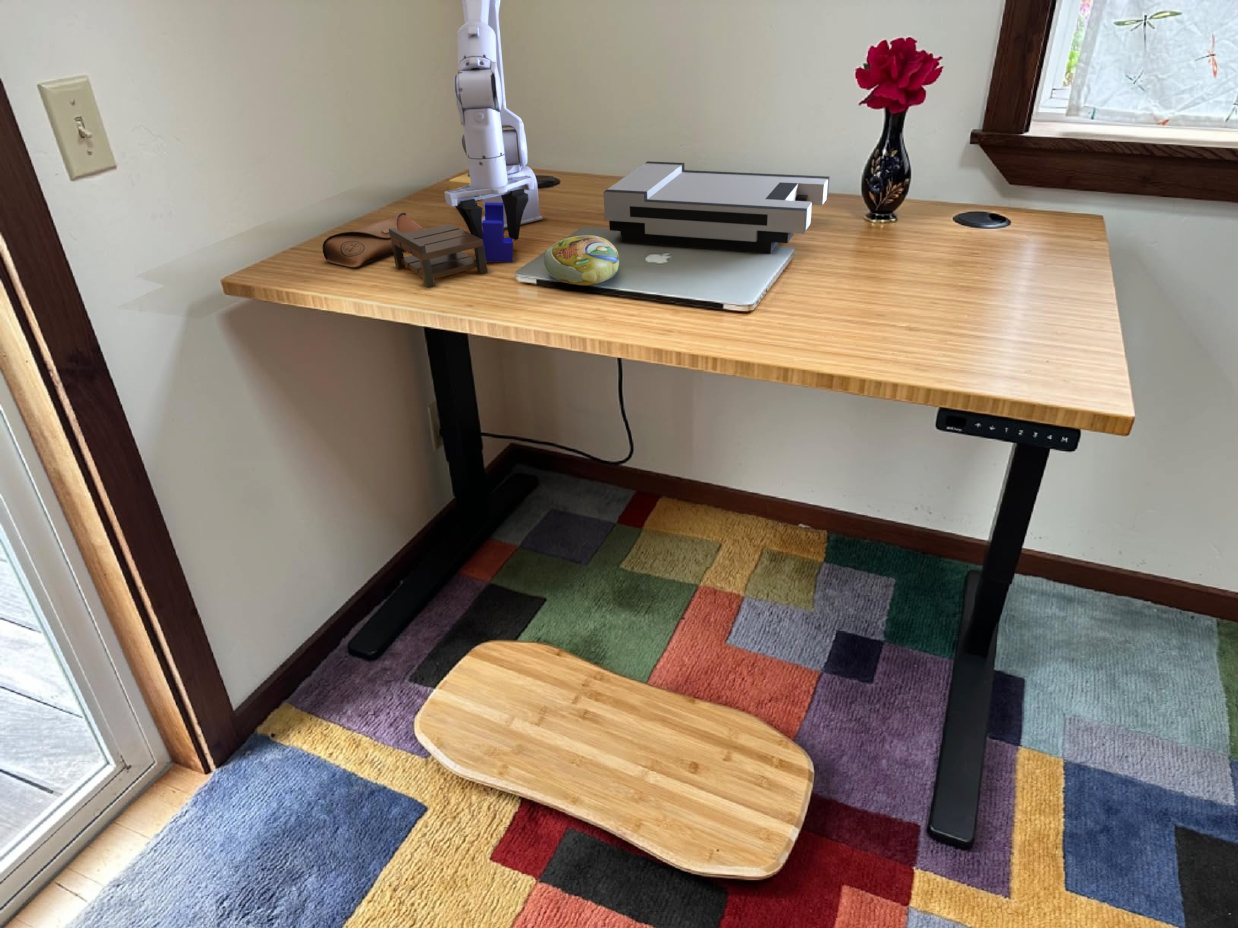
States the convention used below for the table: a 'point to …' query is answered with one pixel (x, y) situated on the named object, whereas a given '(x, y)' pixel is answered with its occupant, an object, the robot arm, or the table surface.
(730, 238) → the game console
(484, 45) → the robot arm
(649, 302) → the table surface
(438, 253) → the rack
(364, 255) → the sunglasses case
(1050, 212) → the table surface
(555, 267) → the cell model
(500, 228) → the blue stepped block
